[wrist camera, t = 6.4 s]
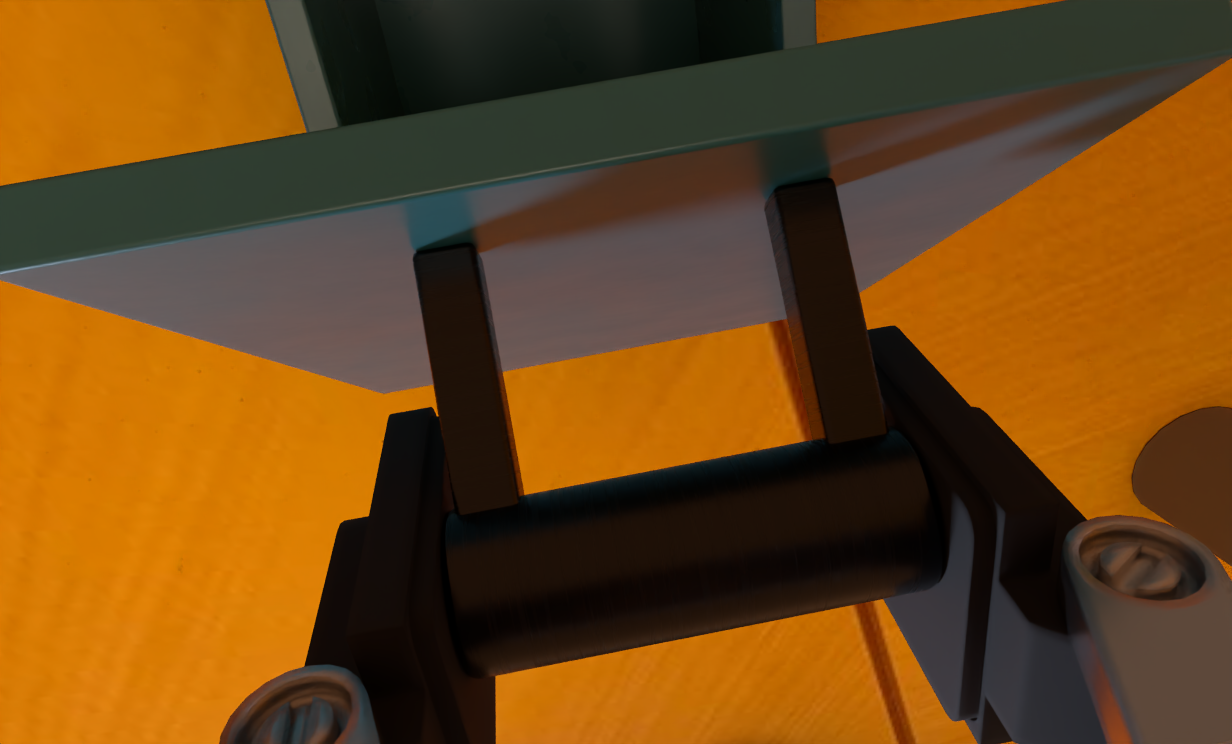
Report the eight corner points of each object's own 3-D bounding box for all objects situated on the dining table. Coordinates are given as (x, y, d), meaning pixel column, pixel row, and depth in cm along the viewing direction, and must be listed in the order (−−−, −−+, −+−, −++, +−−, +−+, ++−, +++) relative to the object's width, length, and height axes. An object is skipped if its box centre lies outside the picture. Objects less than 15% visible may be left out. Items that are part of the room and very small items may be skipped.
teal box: (293, -219, 25) (173, -285, 16) (690, -282, 26) (805, -382, 16) (414, 228, 32) (381, 370, 22) (727, 172, 32) (824, 288, 23)
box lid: (-36, 189, 8) (42, 817, 7) (1227, -32, 8) (1380, 548, 8) (376, 362, 22) (412, 578, 22) (826, 280, 22) (872, 489, 22)
